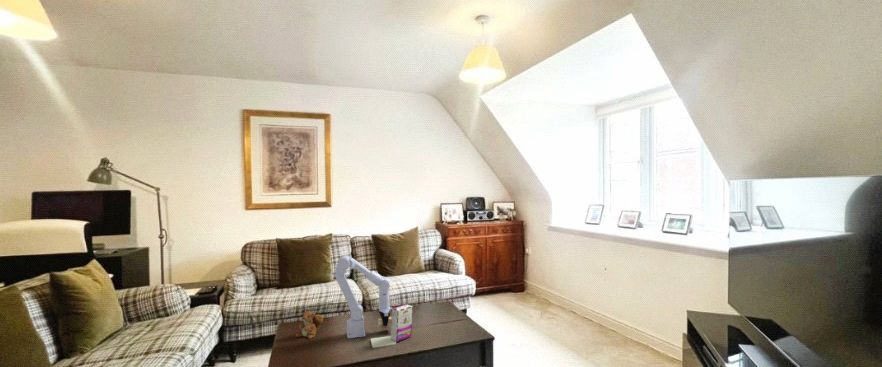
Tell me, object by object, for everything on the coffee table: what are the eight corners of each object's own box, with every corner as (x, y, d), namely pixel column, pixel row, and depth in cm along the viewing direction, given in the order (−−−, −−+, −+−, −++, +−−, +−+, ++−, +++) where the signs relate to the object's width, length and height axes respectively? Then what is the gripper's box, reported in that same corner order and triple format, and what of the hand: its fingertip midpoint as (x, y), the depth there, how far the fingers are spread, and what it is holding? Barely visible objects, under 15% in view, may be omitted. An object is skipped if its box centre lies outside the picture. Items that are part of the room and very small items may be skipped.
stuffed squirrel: (294, 337, 207) (293, 313, 207) (313, 328, 220) (313, 305, 220) (307, 340, 203) (306, 315, 203) (326, 331, 215) (326, 307, 215)
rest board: (372, 347, 191) (372, 346, 191) (370, 340, 201) (370, 338, 201) (396, 344, 195) (396, 342, 195) (393, 337, 204) (392, 335, 204)
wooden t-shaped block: (379, 330, 207) (379, 321, 207) (377, 326, 214) (377, 317, 214) (393, 328, 210) (393, 319, 210) (391, 324, 216) (391, 315, 216)
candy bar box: (405, 334, 208) (406, 304, 208) (411, 336, 204) (413, 306, 205) (389, 339, 199) (391, 308, 199) (396, 342, 196) (398, 310, 196)
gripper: (393, 303, 206) (394, 328, 206) (389, 296, 220) (389, 319, 220) (380, 305, 204) (381, 330, 204) (377, 297, 218) (377, 321, 218)
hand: (384, 324), depth 212 cm, fingers closed on wooden t-shaped block, 2 cm apart
